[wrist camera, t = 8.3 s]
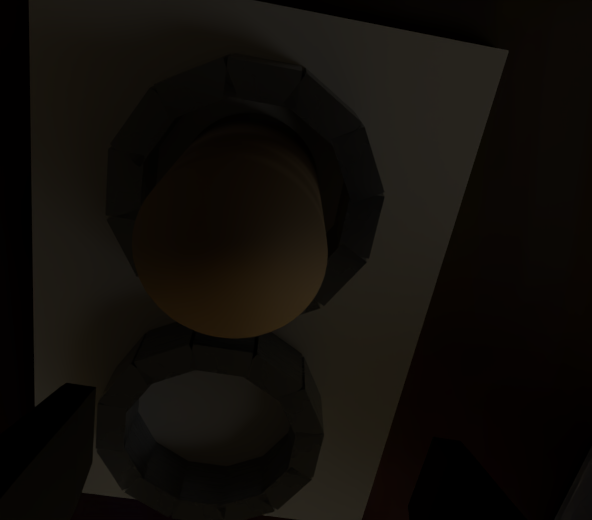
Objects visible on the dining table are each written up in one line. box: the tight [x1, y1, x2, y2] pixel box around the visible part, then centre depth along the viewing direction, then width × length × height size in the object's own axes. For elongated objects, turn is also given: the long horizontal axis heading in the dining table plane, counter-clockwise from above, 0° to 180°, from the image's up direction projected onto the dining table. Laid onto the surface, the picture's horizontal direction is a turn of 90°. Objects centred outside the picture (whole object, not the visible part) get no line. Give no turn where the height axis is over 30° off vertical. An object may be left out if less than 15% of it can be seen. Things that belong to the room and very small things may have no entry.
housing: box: [29, 0, 509, 520], centre depth 19 cm, size 14×20×3 cm
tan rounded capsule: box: [132, 113, 328, 338], centre depth 15 cm, size 4×4×6 cm
